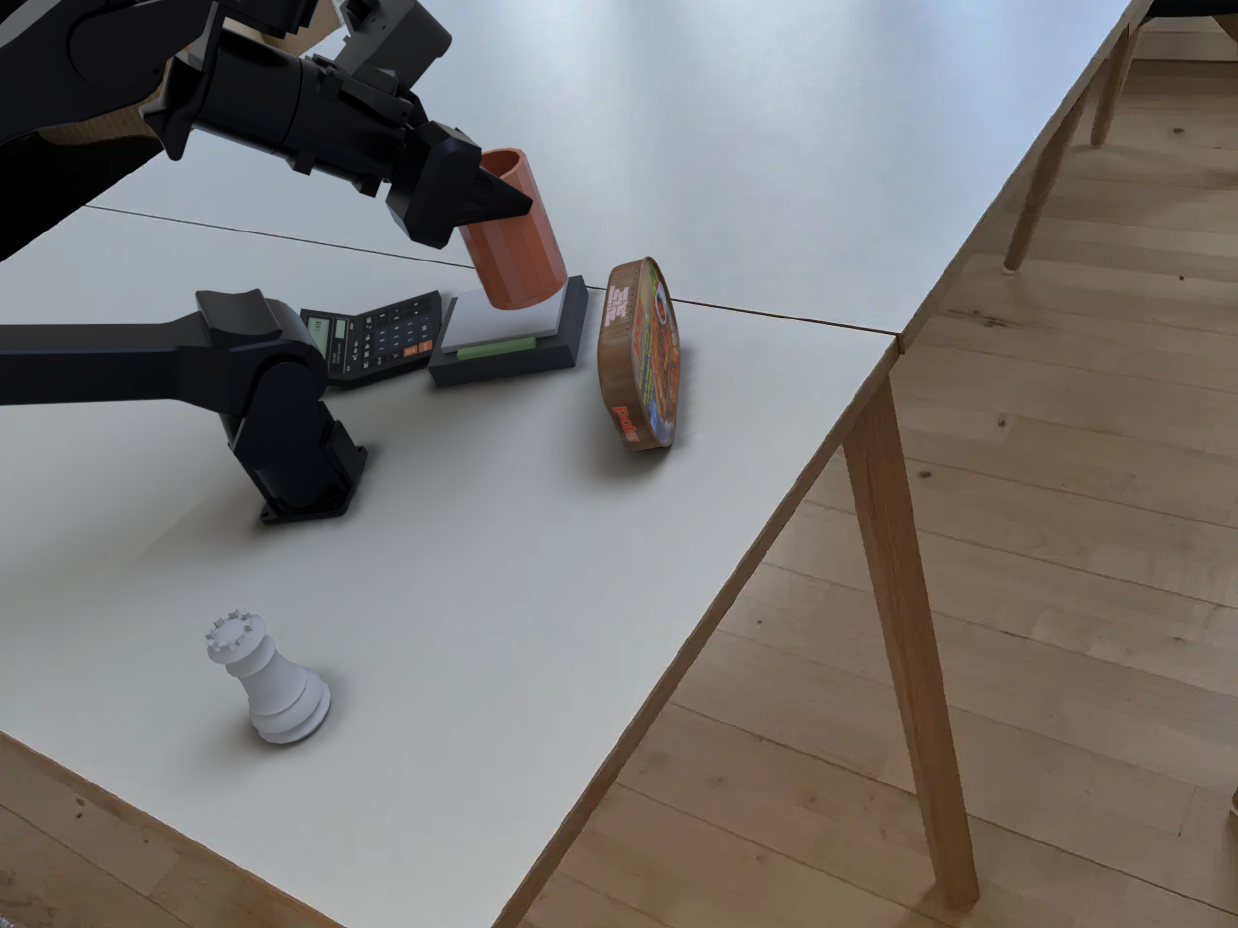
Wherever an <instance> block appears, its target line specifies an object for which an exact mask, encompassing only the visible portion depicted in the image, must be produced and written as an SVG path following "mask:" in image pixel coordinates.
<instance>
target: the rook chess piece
mask: <svg viewBox="0 0 1238 928" xmlns="http://www.w3.org/2000/svg"><path fill="white" fill-rule="evenodd" d="M227 615H228V617H226V618H222V616H221V615H220V614H218V615H217V616H216V617H215V618H213V620H211V623H212V624H213V625H214V626H215V627H214V629H213V628H206V629H205V633H204V638H205V639H206V640H207V641H206V644H207V650H206V651H207V656H208V658H209V659H210V660H211V661H212V662H213V663H215V664H219V665H225V670H226V673H227V674H229V675H230V676H231V677H233V678H237V679H238V681H239V682H240V683H241V685H242V687H243V688H244V691H245V693H246V694H247V703H248V714H249V717H250V720H251V723H252V726H253V727H255V728H256V729H257V731H258V735H259V736H260V737H262V738H263V739H264V740H265V741H266V742H267V743H274V744H289V743H294V742H297V741H300V740H302V739H304V738H305V737H307V736H309V735H311V734H312V733H313V732H314V731H315V730H316V729H317V728H318V727H319V726H321V724H322V723H323V721H324V719H325V717H326V715H327V714H328V712H329V708H330V702H331V695H332V693H331V690H330V688H329V685H328V683H327V682H326V681H324V680H323V679H322V678H321V676H320V674H318V673H317V672H316V671H314V670H313V669H311V668H310V667H308V666H305V665H304V666H303V665H300V664H298V663H294V662H293V663H292V662H290V661H289V660H288V659H287V658H286V657H285V656H283V655H282V654H281V653H280V652H279V651H278V649H277V648H276V643H275V640H274V638H273V637H271V636H270V635H269V634H266V630H267V625H266V622H265V619H264V618H263V617H262V616H260V615H259V614H255V613H250V612H249V611H248V610H247V609H245V608H243V609H242V610H241V611H240V610H239V609H238V608H237V607H234V608H230V609H227Z"/></svg>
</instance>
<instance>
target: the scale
mask: <svg viewBox="0 0 1238 928" xmlns="http://www.w3.org/2000/svg"><path fill="white" fill-rule="evenodd" d="M589 296H590V294H589V291H588V289H587V286H586V282H585V279H584V277H583V274H577V275H573V276H568V274H567V281H566V283H565V284H564V286H563V287H562V288H561V289H560V290H559V291H558V292H557V293H556V294H554V295H553V296H552V297H550V298H549V299H547V300H545V301H543V302H541V303H539V304H536V305H534V306H531V307H528V308H524V309H519V310H499V309H496V308H494V307H493V306H491V304H490V303H489V301H488V298H487V296H486V294H485V292H484V290H483V287H482V288H476V289H472V290H466V291H460V292H459V293H458V296H454V297H451V299H450V301H449V304H448V307H447V310H446V313H445V316H444V319H443V320H442V327H441V330H440V333H439V336H438V338H437V341H436V344H435V347H434V350H433V353H432V356H431V358H430V361H429V364H428V366H427V370H428V372H429V374H430V376H431V378H432V380H433V382H434V385H435V386H436V388H442V387H443V388H444V387H449V386H455V385H461V384H468V383H475V382H480V381H481V382H482V381H487V380H494V379H500V378H507V377H513V376H520V375H525V374H531V373H532V374H533V373H538V372H544V371H545V372H546V371H551V370H558V369H563V368H570V367H575V366H576V364H577V360H578V359H577V358H578V354H579V350H580V343H581V338H582V334H583V327H584V323H585V317H586V312H587V308H588V307H587V306H588V301H589Z"/></svg>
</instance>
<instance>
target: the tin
mask: <svg viewBox="0 0 1238 928" xmlns="http://www.w3.org/2000/svg"><path fill="white" fill-rule="evenodd" d="M605 291H606V292H605V297H604V303H603V308H602V314H601V322H600V326H599V334H598V340H597V349H596V363H597V375H598V382H599V387H600V392H601V396H602V399H603V403H604V406H605V408H606V410H607V412H608V414H609V415H610V418H611V421H612V422H613V425H614V427H615V430H616V432H617V433H618V436H619V438H620V440H621V442H622V446H623V447H624V448H625V449H627V450H628V451H634V452H635V451H636V452H637V451H644V450H649V449H655V448H659V447H663V448H669V447H670V446H671V444H672V443H673V441H674V439H675V435H676V425H677V412H678V410H677V409H678V398H679V397H678V396H679V384H680V374H681V373H680V371H681V357H682V356H681V355H682V354H681V344H680V342H681V341H680V334H679V327H678V322H677V317H676V313H675V308H674V304H673V301H672V297H671V294H670V291H669V287H668V284H667V282H666V279H665V277H664V274H663V272H662V270H661V268H660V266H659V264H658V262H657V261H656V260H655V259H654V258H653V257H652V256H650V255H647V256H644V258H641V259H638V260H637V259H636V260H633V261H629V262H625V263H621V264H617V265H616V266H614V267H613V268H612V269H611V271H610V273H609V275H608V280H607V285H606V290H605Z"/></svg>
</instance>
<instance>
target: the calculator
mask: <svg viewBox="0 0 1238 928" xmlns="http://www.w3.org/2000/svg"><path fill="white" fill-rule="evenodd" d="M442 303H443V302H442V296H441V294H440V292H439V289H436V290H433V291H429V292H426V293H423V294H419V295H417V296H414V297H410V298H407V299H404V300H400V301H396V302H394V303H390V304H387V305H384V306H382V307H381V306H380V307H377V308H375V309H371V310H368V311H365V312H361V313H358V314H356V315H353V314H346V313H338V312H331V311H323V310H317V309H316V310H315V309H307V308H300V312H299V316H300V317H301V319H302V321H303V323H304V324H305V326H306V328H307V329H308V331H309V333H310V335H311V336H312V338H313V340H314V341H315V343H316V345H317V347H318V348H319V350H320V352H321V353H322V355H323V357H324V359H325V361H326V363H327V366H328V376H329V378H328V382H327V386H326V387H330V388H342V389H349V390H350V389H352V390H355V389H358V388H360V387H363V386H367V385H371V384H373V383H376V382H380V381H383V380H386V379H389V378H393V377H396V376H399V375H403V374H407V373H409V372H412V371H413V372H414V371H415V370H419V369H423V368H425V367H428V364H429V361H430V358H431V356H432V353H433V350H434V347H435V344H436V341H437V338H438V336H439V333H440V330H441V327H442V324H443V309H442V308H443V305H442Z"/></svg>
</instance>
